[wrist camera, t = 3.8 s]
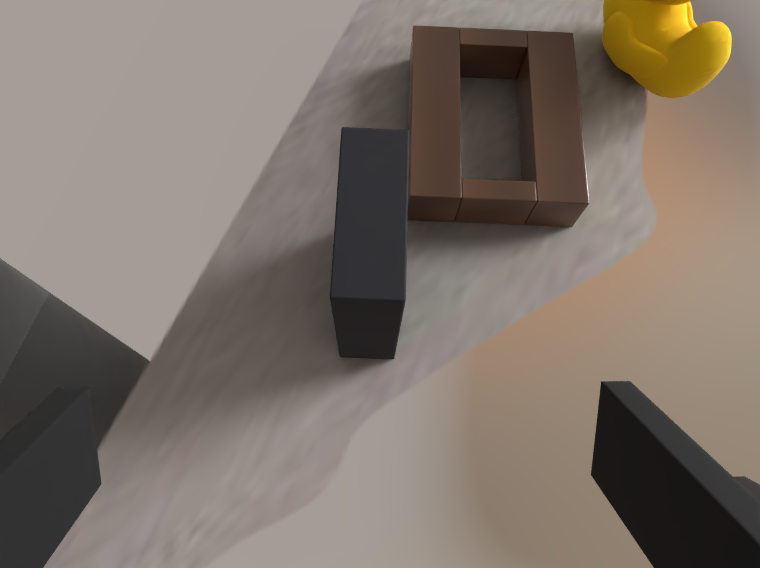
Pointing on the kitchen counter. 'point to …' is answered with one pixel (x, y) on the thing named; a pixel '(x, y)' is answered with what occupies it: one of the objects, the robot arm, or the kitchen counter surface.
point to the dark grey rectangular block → (370, 242)
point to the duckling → (664, 45)
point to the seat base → (536, 125)
